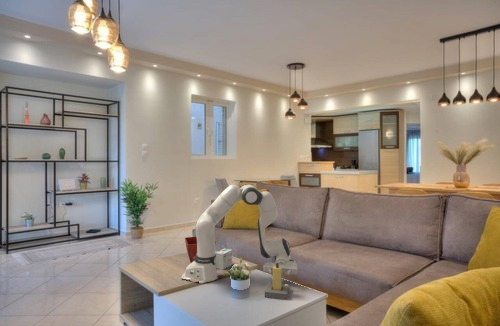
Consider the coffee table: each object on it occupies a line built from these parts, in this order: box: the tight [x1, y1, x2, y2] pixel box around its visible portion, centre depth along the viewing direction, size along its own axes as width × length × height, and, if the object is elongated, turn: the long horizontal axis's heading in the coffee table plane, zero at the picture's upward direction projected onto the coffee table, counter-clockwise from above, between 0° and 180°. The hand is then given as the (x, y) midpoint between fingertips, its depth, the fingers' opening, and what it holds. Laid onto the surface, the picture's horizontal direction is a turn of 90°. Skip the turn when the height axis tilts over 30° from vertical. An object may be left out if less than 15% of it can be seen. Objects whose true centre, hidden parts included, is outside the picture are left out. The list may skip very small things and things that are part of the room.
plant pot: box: [184, 236, 217, 264], centre depth 221 cm, size 19×19×17 cm
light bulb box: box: [215, 247, 233, 270], centre depth 215 cm, size 11×7×11 cm, turn 149°
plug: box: [272, 263, 283, 291], centre depth 174 cm, size 4×4×16 cm
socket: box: [264, 282, 290, 301], centre depth 175 cm, size 12×12×4 cm
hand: (278, 273), depth 179 cm, fingers open, 8 cm apart
